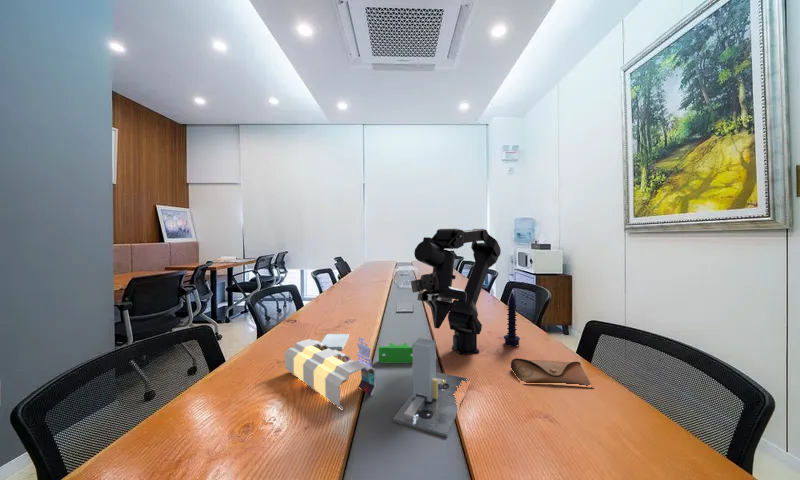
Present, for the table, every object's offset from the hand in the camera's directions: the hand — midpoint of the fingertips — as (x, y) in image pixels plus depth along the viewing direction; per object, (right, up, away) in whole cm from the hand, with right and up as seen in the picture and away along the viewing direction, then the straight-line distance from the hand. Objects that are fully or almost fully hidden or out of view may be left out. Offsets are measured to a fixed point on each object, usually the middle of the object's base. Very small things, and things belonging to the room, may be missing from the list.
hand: (436, 328), depth 78 cm
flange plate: (-2, -12, -12) cm, 17 cm away
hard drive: (-32, -12, +22) cm, 41 cm away
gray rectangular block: (-4, -11, -12) cm, 17 cm away
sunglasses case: (+29, -13, -3) cm, 32 cm away
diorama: (-28, -13, -5) cm, 31 cm away
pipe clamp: (-10, -12, +8) cm, 18 cm away
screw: (+27, -11, +19) cm, 35 cm away
